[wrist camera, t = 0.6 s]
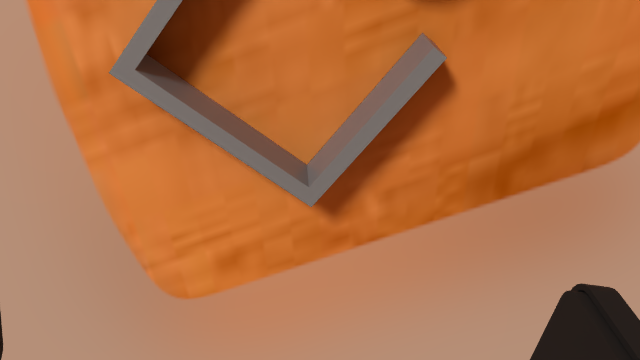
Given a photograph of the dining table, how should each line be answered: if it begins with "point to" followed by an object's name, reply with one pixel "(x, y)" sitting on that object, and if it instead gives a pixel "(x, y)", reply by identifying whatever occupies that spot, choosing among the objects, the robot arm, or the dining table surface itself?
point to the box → (251, 143)
